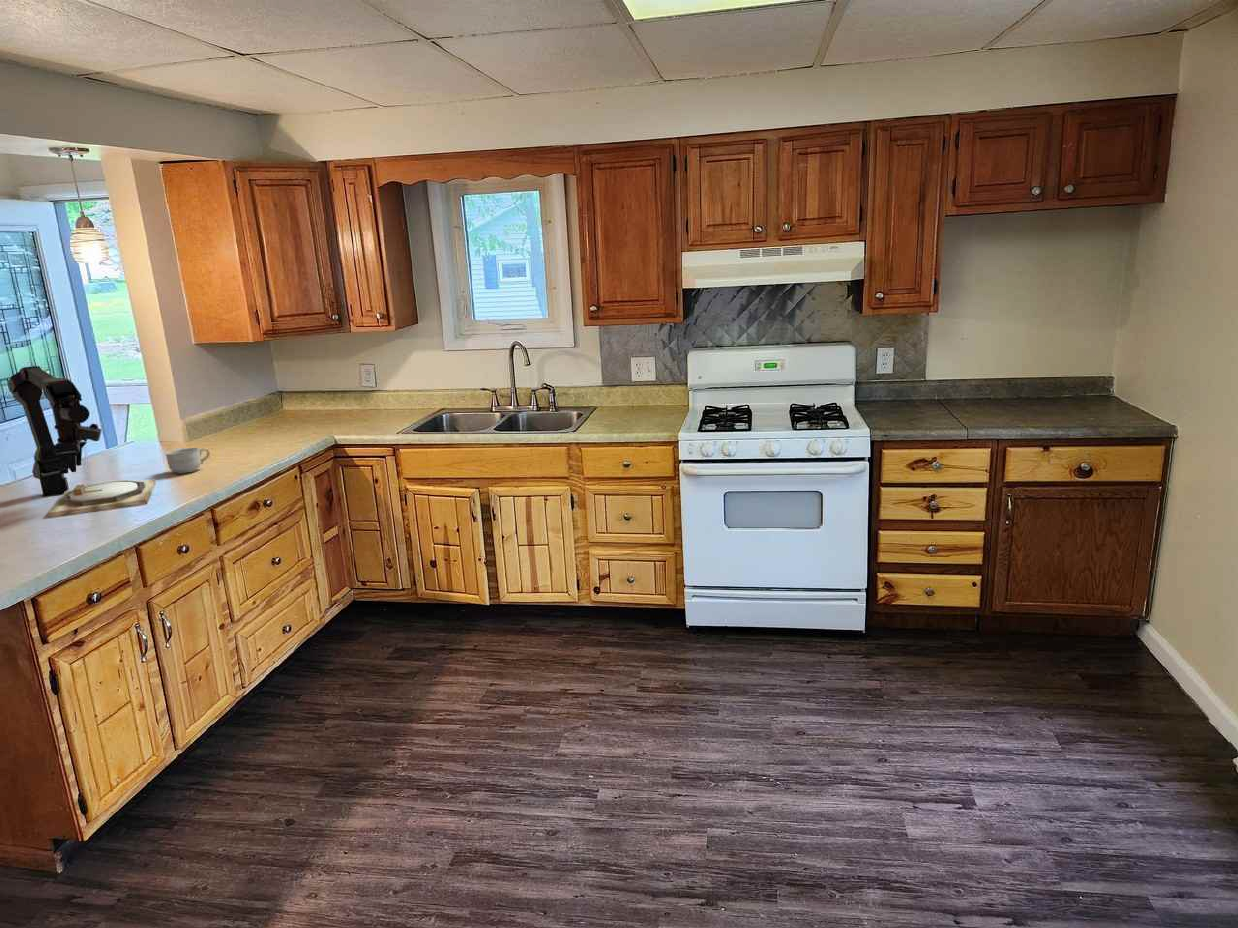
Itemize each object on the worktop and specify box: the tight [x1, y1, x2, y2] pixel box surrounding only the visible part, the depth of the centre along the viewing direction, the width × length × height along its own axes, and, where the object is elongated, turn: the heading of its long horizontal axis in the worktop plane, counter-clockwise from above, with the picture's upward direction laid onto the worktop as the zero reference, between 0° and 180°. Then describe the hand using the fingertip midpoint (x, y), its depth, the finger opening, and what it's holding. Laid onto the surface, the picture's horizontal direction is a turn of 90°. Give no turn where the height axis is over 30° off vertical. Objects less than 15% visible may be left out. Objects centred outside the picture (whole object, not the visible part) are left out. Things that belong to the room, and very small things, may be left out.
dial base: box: [47, 479, 157, 518], centre depth 257 cm, size 26×26×3 cm
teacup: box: [165, 447, 211, 474], centre depth 289 cm, size 14×11×8 cm
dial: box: [69, 481, 138, 500], centre depth 257 cm, size 19×19×4 cm
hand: (76, 468), depth 253 cm, fingers open, 9 cm apart
